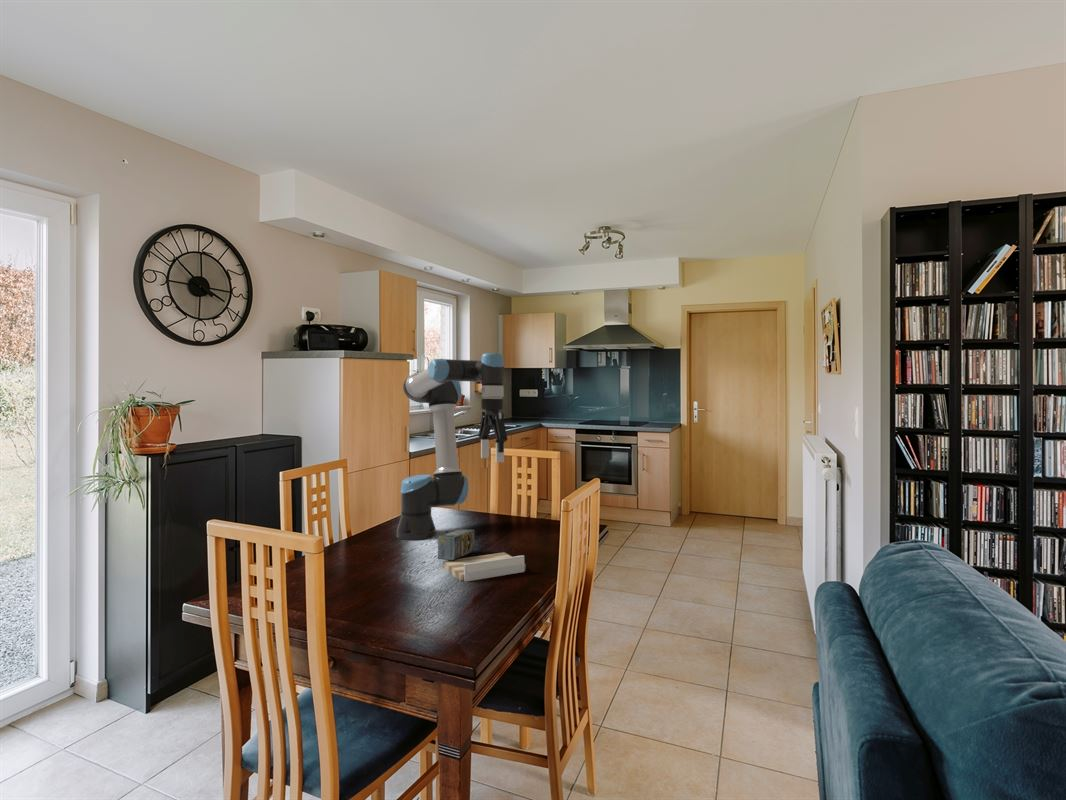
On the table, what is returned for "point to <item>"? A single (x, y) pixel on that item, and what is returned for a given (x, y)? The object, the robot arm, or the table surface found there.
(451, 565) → the shelf board
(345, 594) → the table surface
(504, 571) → the rail
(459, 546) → the beverage carton
